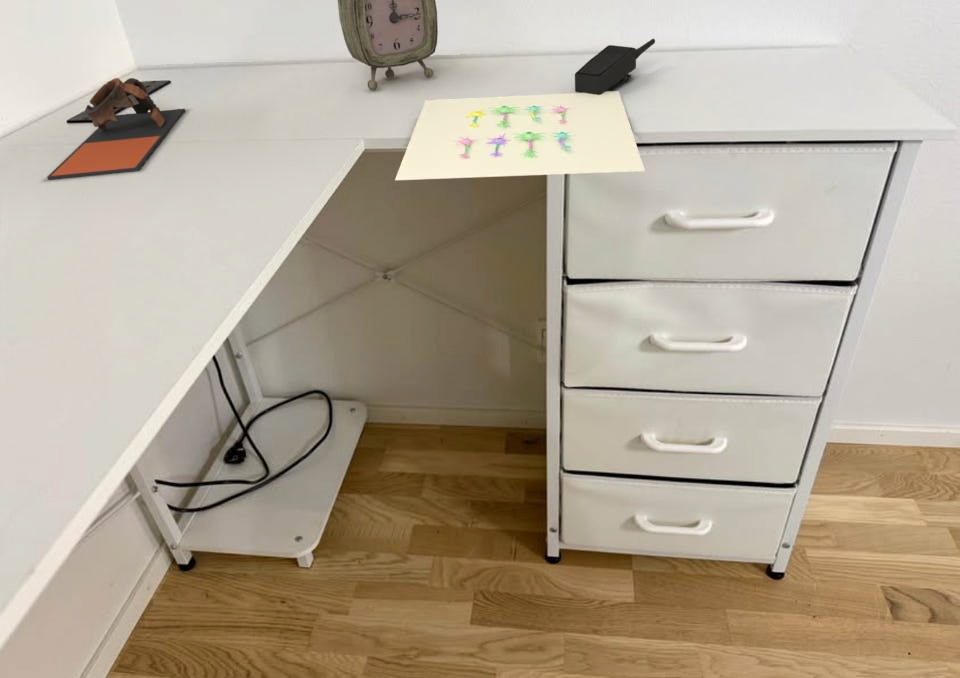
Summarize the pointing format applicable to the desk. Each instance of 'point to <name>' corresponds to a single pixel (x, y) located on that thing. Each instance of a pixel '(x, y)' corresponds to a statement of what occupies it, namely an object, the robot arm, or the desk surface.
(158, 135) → the desk mat
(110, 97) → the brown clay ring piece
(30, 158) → the desk surface
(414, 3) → the tabletop clock
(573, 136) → the printed paper
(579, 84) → the walkie-talkie
